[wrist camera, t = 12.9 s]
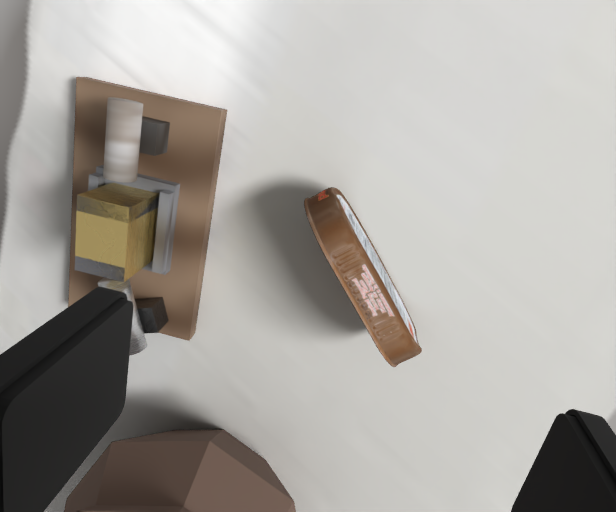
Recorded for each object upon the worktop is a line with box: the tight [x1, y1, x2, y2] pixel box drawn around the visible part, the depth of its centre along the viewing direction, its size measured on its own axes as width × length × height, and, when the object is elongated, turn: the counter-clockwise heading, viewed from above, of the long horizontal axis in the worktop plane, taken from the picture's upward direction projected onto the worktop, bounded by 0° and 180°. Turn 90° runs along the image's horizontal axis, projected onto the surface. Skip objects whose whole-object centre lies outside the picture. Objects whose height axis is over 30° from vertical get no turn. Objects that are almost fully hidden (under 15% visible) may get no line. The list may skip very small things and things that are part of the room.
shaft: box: [98, 278, 169, 355], centre depth 41 cm, size 6×4×5 cm, turn 8°
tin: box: [304, 187, 422, 367], centre depth 37 cm, size 15×3×8 cm, turn 30°
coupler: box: [75, 183, 159, 282], centre depth 38 cm, size 6×4×5 cm, turn 169°
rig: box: [68, 77, 227, 340], centre depth 40 cm, size 21×12×6 cm, turn 168°
